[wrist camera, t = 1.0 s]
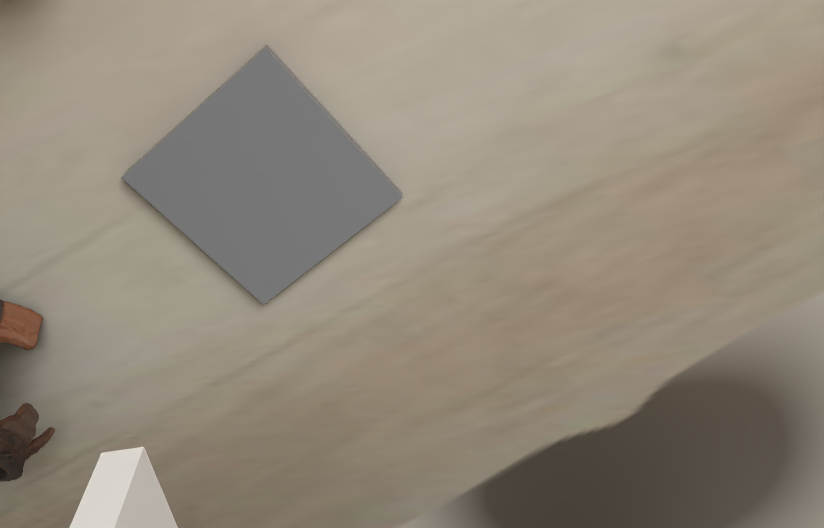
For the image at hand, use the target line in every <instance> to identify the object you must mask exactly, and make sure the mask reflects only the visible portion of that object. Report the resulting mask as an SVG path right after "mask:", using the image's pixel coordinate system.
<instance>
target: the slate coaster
mask: <svg viewBox="0 0 824 528" xmlns="http://www.w3.org/2000/svg"><path fill="white" fill-rule="evenodd" d="M122 179H123V180H125V181H126V182H127V183H128V184H129V185H130V186H131V187H132V188H134V189H135V190H136V191H137V192H138V193H139V194H140V195H141V196H142V197H144V198H145V199H146V200H147V201H148V202H149V203H150V204H151V205H153V206H154V207H155V208H156V209H157V210H158V211H159V212H160V213H161V214H163V215H164V216H165V217H166V218H167V219H168V220H169V221H170V222H172V223H173V224H174V225H175V226H176V227H177V228H178V229H179V230H181V231H182V232H183V233H184V234H185V235H186V236H187V237H188V238H189V239H191V240H192V241H193V242H194V243H195V244H196V245H197V246H198V247H200V248H201V249H202V250H203V251H204V252H205V253H206V254H207V255H208V256H210V257H211V258H212V259H213V260H214V261H215V262H216V263H217V264H219V265H220V266H221V267H222V268H223V269H224V270H225V271H226V272H227V273H229V274H230V275H231V276H232V277H233V278H234V279H235V280H236V281H238V282H239V283H240V284H241V285H242V286H243V287H244V288H245V289H247V290H248V291H249V292H250V293H251V294H252V295H253V296H254V297H255V298H257V299H258V300H259V301H260V302H261V303H262V304H263V305H264V304H265V303H267V302H268V301H269V300H270V299H272V298H273V297H274V296H276V295H277V294H278V293H280V292H281V291H282V290H283V289H285V288H286V287H287V286H289V285H290V284H291V283H292V282H294V281H295V280H296V279H298V278H299V277H300V276H302V275H303V274H304V273H305V272H307V271H308V270H309V269H311V268H312V267H313V266H314V265H316V264H317V263H318V262H320V261H321V260H322V259H324V258H325V257H326V256H327V255H329V254H330V253H331V252H333V251H334V250H335V249H336V248H338V247H339V246H340V245H342V244H343V243H344V242H346V241H347V240H348V239H349V238H351V237H352V236H353V235H355V234H356V233H357V232H358V231H360V230H361V229H362V228H364V227H365V226H366V225H368V224H369V223H370V222H371V221H373V220H374V219H375V218H377V217H378V216H379V215H380V214H382V213H383V212H384V211H386V210H387V209H388V208H390V207H391V206H392V205H393V204H395V203H396V202H397V201H399V200H400V199H401V198H402V192H401V191H400V190H399V189H398V188H397V187H396V186H395V185H394V184H393V183H392V181H391V180H390V179H389V178H388V177H387V176H386V175H385V174H384V173H383V172H382V170H381V169H380V168H379V167H378V166H377V165H376V164H375V163H374V162H373V161H372V160H371V158H370V157H369V156H368V155H367V154H366V153H365V152H364V151H363V150H362V149H361V147H360V146H359V145H358V144H357V143H356V142H355V141H354V140H353V139H352V138H351V136H350V135H349V134H348V133H347V132H346V131H345V130H344V129H343V128H342V127H341V126H340V124H339V123H338V122H337V121H336V120H335V119H334V118H333V117H332V116H331V115H330V113H329V112H328V111H327V110H326V109H325V108H324V107H323V106H322V105H321V104H320V103H319V101H318V100H317V99H316V98H315V97H314V96H313V95H312V94H311V93H310V92H309V90H308V89H307V88H306V87H305V86H304V85H303V84H302V83H301V82H300V81H299V79H298V78H297V77H296V76H295V75H294V74H293V73H292V72H291V71H290V70H289V69H288V67H287V66H286V65H285V64H284V63H283V62H282V61H281V60H280V59H279V58H278V56H277V55H276V54H275V53H274V52H273V51H272V50H271V49H270V48H269V47H268V45H266V46H265V47H264V48H263V49H262V50H261V51H259V52H258V53H257V54H256V55H255V56H254V57H253V58H252V59H251V60H249V61H248V62H247V63H246V64H245V65H244V66H243V67H242V68H241V69H240V70H238V71H237V72H236V73H235V74H234V75H233V76H232V77H231V78H230V79H228V80H227V81H226V82H225V83H224V84H223V85H222V86H221V87H220V88H218V89H217V90H216V91H215V92H214V93H213V94H212V95H211V96H210V97H208V98H207V99H206V100H205V101H204V102H203V103H202V104H201V105H200V106H199V107H197V108H196V109H195V110H194V111H193V112H192V113H191V114H190V115H189V116H187V117H186V118H185V119H184V120H183V121H182V122H181V123H180V124H179V125H177V126H176V127H175V128H174V129H173V130H172V131H171V132H170V133H169V134H167V135H166V136H165V137H164V138H163V139H162V140H161V141H160V142H159V143H157V144H156V145H155V146H154V147H153V148H152V149H151V150H150V151H149V152H148V153H146V154H145V155H144V156H143V157H142V158H141V159H140V160H139V161H138V162H136V163H135V164H134V165H133V166H132V167H131V168H130V169H129V170H128V171H126V172H125V173H124V175H123V176H122Z"/></svg>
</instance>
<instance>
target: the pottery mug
mask: <svg viewBox="0 0 824 528" xmlns="http://www.w3.org/2000/svg"><path fill="white" fill-rule="evenodd" d="M42 319H43V318H42V316H41V315H39V314H37V313H35V312H34V311H32V310H30V309H27V308H24V307H22V306H20V305H16V304H12V303H9V302H4V301H2V300H0V342H3V343H9V344H12V345H15V346H18V347H21V348H24V349H26V350H31V349H33V348H34V347H35V346H36V344H37V341H38V333H39V330H40V327H41V323H42ZM38 418H39V415H38V413H37V411H36V410H35V409H34V407H33V406H32V405H30V404H28V403H25V404H23V405H22V406H21V407H20V408H19V409H18V411H17V412H16V414H15V415H12V416H9V417H7V418H5V419H3V420H1V421H0V481H11V480H14V479H18V478H19V477H21V476H22V472H23V466H24V462H25V460H26V459H28V458H29V457H30V456H31V455H33V454H34V453H37V452H38V450H39V449H40V448H42V447H43V446H44V445H45V444H46V443H47V442H48V441H49V439H50V438H51V436H52V435H53V433H54V432H55V429H54V428H53V427H50V428H48V429H47V430H46V431H45V432H44V433H43V434H42V435H40V436H39V437H37V438H36V439H34V440H33V438H34V436H35V433H36V427H35V425H36V423H37V421H38Z"/></svg>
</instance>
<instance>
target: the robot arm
mask: <svg viewBox="0 0 824 528" xmlns="http://www.w3.org/2000/svg"><path fill="white" fill-rule="evenodd" d="M70 528H178V527H177V525H176V522H175V520H174V518H173V515H172V513H171V510H170V508H169V506H168V503H167V501H166V498H165V496H164V494H163V491H162V489H161V487H160V484H159V482H158V479H157V477H156V475H155V472H154V470H153V467H152V465H151V463H150V460H149V458H148V456H147V453H146V451H145V448H144V447H139V448H132V449H125V450H118V451H111V452H104V453H101V455H100V458H99V460H98V462H97V465H96V467H95V469H94V472H93V474H92V476H91V479H90V481H89V483H88V486H87V488H86V490H85V493H84V495H83V497H82V500H81V502H80V504H79V507H78V509H77V511H76V514H75V516H74V518H73V521H72V523H71V525H70Z"/></svg>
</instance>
